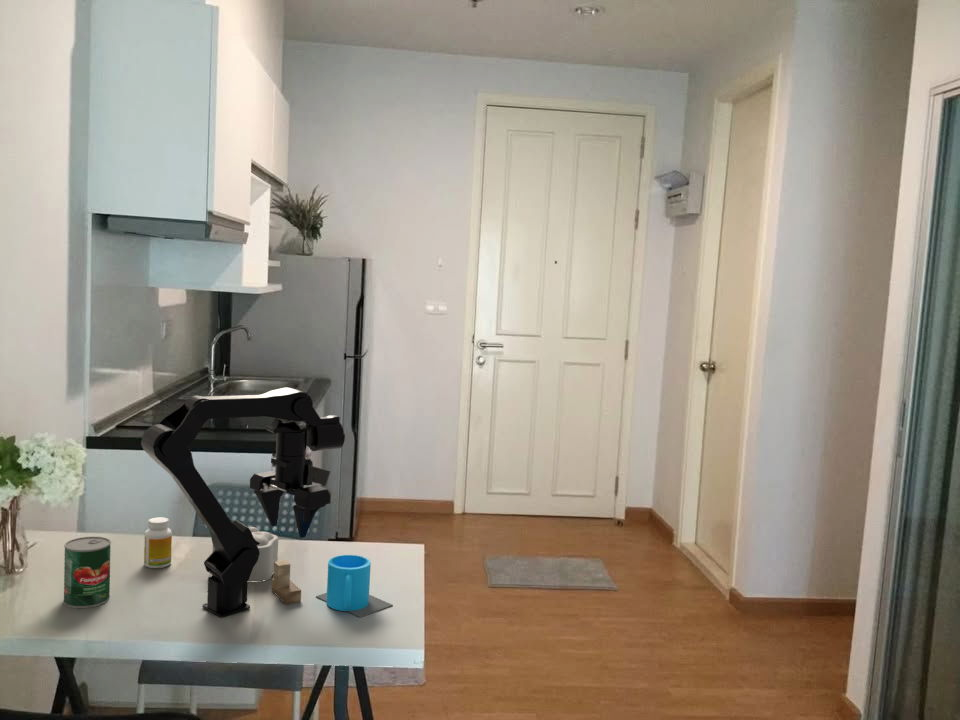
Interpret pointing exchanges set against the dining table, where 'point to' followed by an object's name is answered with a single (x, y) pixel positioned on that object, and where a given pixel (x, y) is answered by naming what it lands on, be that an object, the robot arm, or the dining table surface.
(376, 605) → the charcoal mat
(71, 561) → the canned tomato
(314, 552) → the dining table surface
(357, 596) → the mug
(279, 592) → the wooden t-shaped block
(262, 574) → the lumpy-topped squat cylinder
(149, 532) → the supplement bottle
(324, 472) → the robot arm
